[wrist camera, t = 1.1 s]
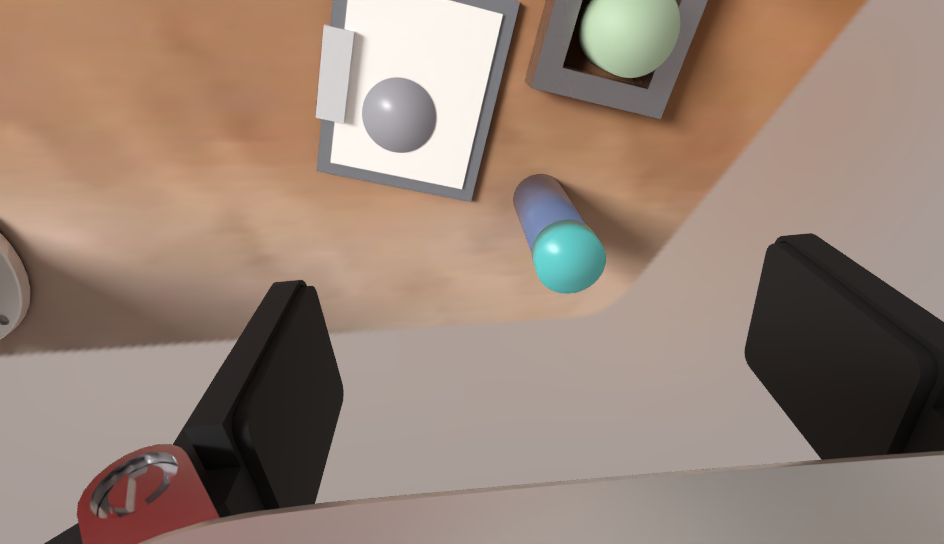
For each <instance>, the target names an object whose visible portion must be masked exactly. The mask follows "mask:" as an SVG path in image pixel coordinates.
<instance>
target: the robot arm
mask: <svg viewBox="0 0 944 544" xmlns="http://www.w3.org/2000/svg"><path fill="white" fill-rule="evenodd" d="M29 305H30V285H29V280H28V275H27V273H26V271H25V268H24V266H23V264H22V262H21V259H20V258H19V256H18V255H17V253H16V252H15V250H14V249H13V247H12V246H11V244H10V243H9V242H8V241H7V240H6V239H5V237H4V236H3V235H2V234H1V233H0V339H2V338H4V337H5V336H6V335H8V334H9V333H10V332H11V331H13V330H14V329H15V328H16V327H17V326H18V325H19V324H20V323H21V321H22V320H23V319H24V317H25V316H26V313H27V310H28V307H29ZM745 358H746V361H747V364H748V365H749V367H750V368H751V370H752V371H753V372H754V374H755V375H756V376H757V377H758V379H759V380H760V381H761V382H762V384H763V385H764V386H765V388H766V389H767V390H768V391H769V393H770V394H771V395H772V397H773V398H774V399H775V400H776V402H777V403H778V404H779V406H780V407H781V408H782V409H783V411H784V412H785V413H786V414H787V416H788V417H789V418H790V419H791V421H792V422H793V423H794V425H795V426H796V427H797V429H798V430H799V431H800V432H801V434H802V435H803V436H804V438H805V439H806V440H807V441H808V443H809V444H810V445H811V447H812V448H813V449H814V450H815V452H816V453H817V454H818V455H819V457H820V458H821V459H822V460H814V461H800V462H787V463H775V464H763V465H749V466H738V467H724V468H712V469H701V470H688V471H676V472H664V473H652V474H639V475H628V476H616V477H604V478H592V479H581V480H569V481H558V482H545V483H534V484H522V485H511V486H500V487H490V488H478V489H467V490H455V491H444V492H433V493H422V494H411V495H399V496H389V497H378V498H368V499H359V500H347V501H337V502H326V503H318V504H315V501H316V498H317V494H318V490H319V486H320V483H321V479H322V476H323V472H324V468H325V465H326V461H327V457H328V453H329V450H330V446H331V443H332V438H333V435H334V432H335V428H336V424H337V421H338V417H339V413H340V410H341V406H342V402H343V385H342V381H341V377H340V373H339V370H338V366H337V363H336V359H335V356H334V352H333V348H332V345H331V341H330V338H329V334H328V330H327V327H326V323H325V320H324V316H323V313H322V309H321V305H320V302H319V298H318V295H317V292H316V289H315V287H314V286H307V285H306V283H305V282H304V281H303V280H296V281H285V282H275V283H273V285H272V286H271V287H270V289H269V291H268V292H267V294H266V296H265V297H264V299H263V300H262V302H261V304H260V305H259V307H258V308H257V310H256V312H255V313H254V315H253V316H252V318H251V320H250V321H249V323H248V325H247V326H246V328H245V329H244V331H243V333H242V334H241V336H240V337H239V339H238V341H237V342H236V344H235V345H234V347H233V349H232V350H231V352H230V354H229V355H228V356H227V358H226V360H225V361H224V363H223V364H222V366H221V368H220V369H219V371H218V373H217V374H216V376H215V378H214V379H213V381H212V382H211V384H210V386H209V387H208V389H207V390H206V392H205V393H204V395H203V397H202V399H201V400H200V402H199V403H198V405H197V406H196V408H195V410H194V411H193V413H192V414H191V416H190V418H189V419H188V421H187V423H186V424H185V426H184V427H183V429H182V430H181V432H180V434H179V435H178V437H177V439H176V440H175V442H174V443H173V445H172V444H157V445H152V446H148V447H144V448H141V449H138V450H136V451H134V452H131V453H129V454H127V455H125V456H123V457H121V458H120V459H118V460H116V461H115V462H113V463H112V464H110V465H109V466H108V467H106V468H105V469H104V470H103V471H102V472H101V473H99V474H98V475H97V476H96V477H95V478H94V479H93V480H92V481H91V483H90V484H89V485H88V486H87V488H85V490H84V491H83V493H82V495H81V498H80V500H79V502H78V505H77V518H78V523H77V524H76V525H74V526H73V527H71V528H69V529H67V530H66V531H64V532H63V533H61V534H60V535H58V536H56V537H54V538H53V539H51V540H50V541H48V542H46V543H45V544H944V322H943V321H941V320H940V319H938V318H937V317H935V316H934V315H932V314H931V313H930V312H928V311H927V310H925V309H924V308H922V307H921V306H919V305H918V304H916V303H914V302H913V301H912V300H910V299H909V298H907V297H906V296H905V295H903V294H902V293H900V292H898V291H897V290H896V289H894V288H893V287H891V286H890V285H888V284H887V283H885V282H884V281H882V280H881V279H880V278H878V277H877V276H875V275H874V274H872V273H871V272H869V271H868V270H866V269H865V268H863V267H862V266H860V265H859V264H857V263H856V262H854V261H853V260H852V259H850V258H848V257H847V256H846V255H844V254H843V253H841V252H840V251H838V250H837V249H835V248H834V247H832V246H831V245H830V244H828V243H827V242H825V241H824V240H822V239H821V238H819V237H818V236H816V235H814V234H799V235H788V236H781V237H779V238H777V240H776V241H775V243H774V244H771V245H770V246H769V247H768V248H767V251H766V255H765V259H764V264H763V268H762V273H761V277H760V282H759V286H758V291H757V296H756V300H755V305H754V309H753V314H752V319H751V323H750V327H749V332H748V337H747V341H746V346H745Z"/></svg>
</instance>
